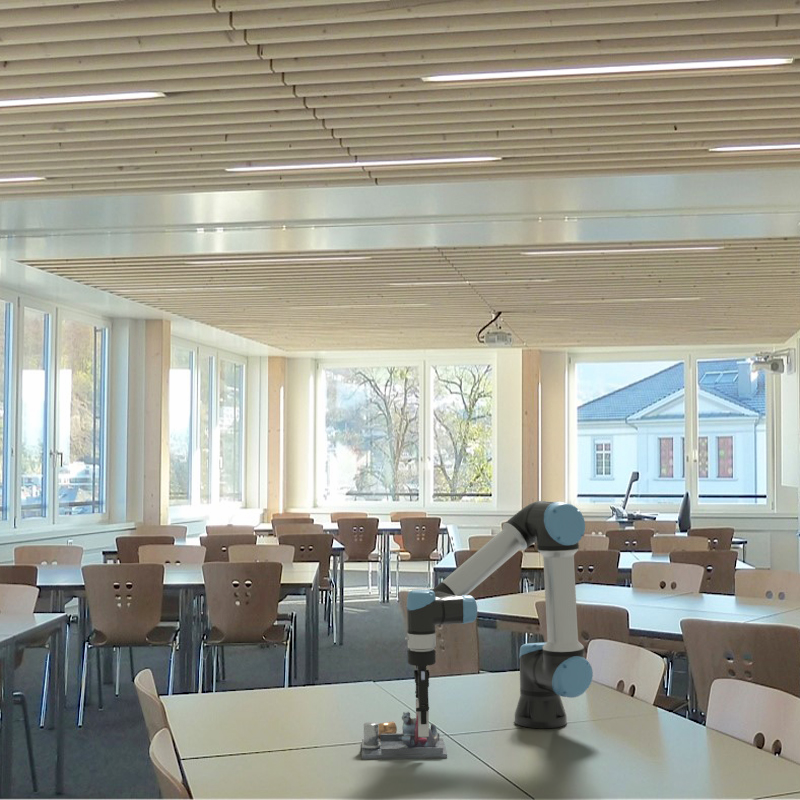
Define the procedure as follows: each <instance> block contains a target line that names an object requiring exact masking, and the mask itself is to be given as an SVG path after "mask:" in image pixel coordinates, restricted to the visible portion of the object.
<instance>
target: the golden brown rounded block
mask: <svg viewBox="0 0 800 800" xmlns="http://www.w3.org/2000/svg"><path fill="white" fill-rule="evenodd" d="M397 731H398V729H397V725H396V722H394V721H387V722H381V723H379V738H380V734H396V733H397Z"/></svg>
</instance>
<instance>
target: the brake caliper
mask: <svg viewBox="0 0 800 800" xmlns="http://www.w3.org/2000/svg"><path fill="white" fill-rule="evenodd" d="M401 720H402V721H403V723H402V733H403V735H404V736H401V737H399V739H400V740H401V741H403V742H404V743H405V745H406V746H408V747H434V746H435V745H436V743H437V742H438V739H439V738H440V736H439V737H438V733H439V732H438V730H437V727H436V725H435V723H431V724H430V727H429V737H418V715H417V718H416V717H414V718H412V717H411V713H410V712H409V711H405V712H404V711H403V713H402V716H401Z"/></svg>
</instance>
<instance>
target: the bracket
mask: <svg viewBox="0 0 800 800" xmlns="http://www.w3.org/2000/svg"><path fill="white" fill-rule="evenodd" d="M379 724H380V723H378V722H375V721H371V722H369V721H368V722H365V723H363V739H361V760H392V759H393V760H394V759H396V760H397V759H398V760H399V759H400V760H403V759H409V760H410V759H447V758H448V751H447V750H446V745H445V742H444V739H443V738H441V737H440V732H437V733H438V737H439V739H438V742H437V743H436V745H435V746H434V747H408V746H406V745H405V743H404V742H403V741H401V740H400V739H399V737H401V736H404V735H403V732H402V733H401V732H400V733H399V732H398V733H397V732H396V734H380V737H379Z"/></svg>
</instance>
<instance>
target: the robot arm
mask: <svg viewBox="0 0 800 800" xmlns="http://www.w3.org/2000/svg"><path fill="white" fill-rule="evenodd" d="M585 531H586V521H585V517H584V515H583V514H582V512H581V510H580V509H579V508H577V507H576V506H575V505H573V504H571V503H567V502H564V501H548V500H547V501H546V500H537V501H533V502H531V503H528V505H526V506H525V507H523V508H522V509H520V510H518V512H517V513H515V514H514V515H513V516H512V517H510V518H509V519H508V520H507V521H506V522H504V524H503V525H502V530H500V531H499V532H498V533H497V534H496V535H494V537H492V538H491V539H490V540H489V541H487V543H485V544H484V545H482V547H481V548H480V549H478V550H477V551H476V552H475V553H474V554H473V555H471V556H470V557H469V558H467V560H465V561H464V562H463V563H462V564H461V565H459V566H458V567H457V568H456V569H455V570H454V571H453V572H451V573H450V574H449V575H448V576H447V577H446V578H444V579H443V580H442V581H441V582H440V583H438V584H436V586H434V588H429V589H414V590H410V591H409V592H408V593H407V597H406V607H405V608H406V618H407V619H406V621H407V622H406V625H407V627H406V628H407V631H406V632H407V636H405V638H404V640H406V641H407V648H408V650H407V664H409V665H410V666H415V669H414V671H413V676H414V683H415V692H414V693H415V718H417V715H418V737H429V728H430V727H429V726H430V724H429V723H430V721H429V720H430V719H429V714H430V713H429V710H430V705H429V704H430V703H429V687H430V670H429V669H427V666H432V665H433V666H434V665H435V664H436V659H437V658H436V656H437V655H436V653H437V652H436V650H435V648H436V647H437V643H436V641H437V640H436V639H437V638H436V636H437V634H436V626H443V625H444V626H446V625H447V626H449V625H461V624H462V625H465V624H470V623H471V624H472V623H473V622H475V621H476V619H477V616H478V604H477V601H476V599H475V597H474V596H472V595H470V593H471V592H472V591H474V590H475V589H476V588H477V587H478V586H479V585H481V584H482V583H483V582H484V581H485V580H486V579H488V577H490V576H491V575H492V574H494V572H495V571H497V570H498V569H499V568H500V567H502V566H503V565H504V564H505V563H506V562H507V561H509V560H510V559H511V558H512V557H513V556H514V555H515V554H516V553H518V552H519V551H520V550H522V551H525V550H526V549H528V548H529V547H530V546H533V544H536V545H537V547H536V548H537V552H538V553H539V554H540V555H541V556H542V559H543V560H542V561H543V578H544V596H545V597H544V598H545V599H544V600H545V617H546V618H545V619H546V636H547V637H546V638H547V639H546V642H544V641H543V642H530V643H524V644H522V645H521V646H520V647H519V655H518V659H519V690H520V691H519V698H518V701H517V704H516V709H515V712H514V723H515V724H516V725H518V726H521V727H525V728H532V729H555V728H561V727H564V726H565V725H567V721H568V720H567V713H566V712H567V711H566V709H565V707H564V704H563V700H562V697H563V698H571V699H572V698H573V699H574V698H578V697H580V696H582V695H584V693H586V691H588V689H589V688H590V686H591V684H592V681H593V677H594V675H593V673H594V672H593V671H594V670H593V668H592V665H591V663H590V661H588V660H587V658H585V646H584V645H583V644H582V643H581V642H580V641H579V632H578V613H577V612H578V611H577V594H576V575H575V573H576V571H575V570H576V569H575V554H576V553H578V551H579V550H580V545H579V542H580V541H581V540H582V537H584V534H585Z"/></svg>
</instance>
